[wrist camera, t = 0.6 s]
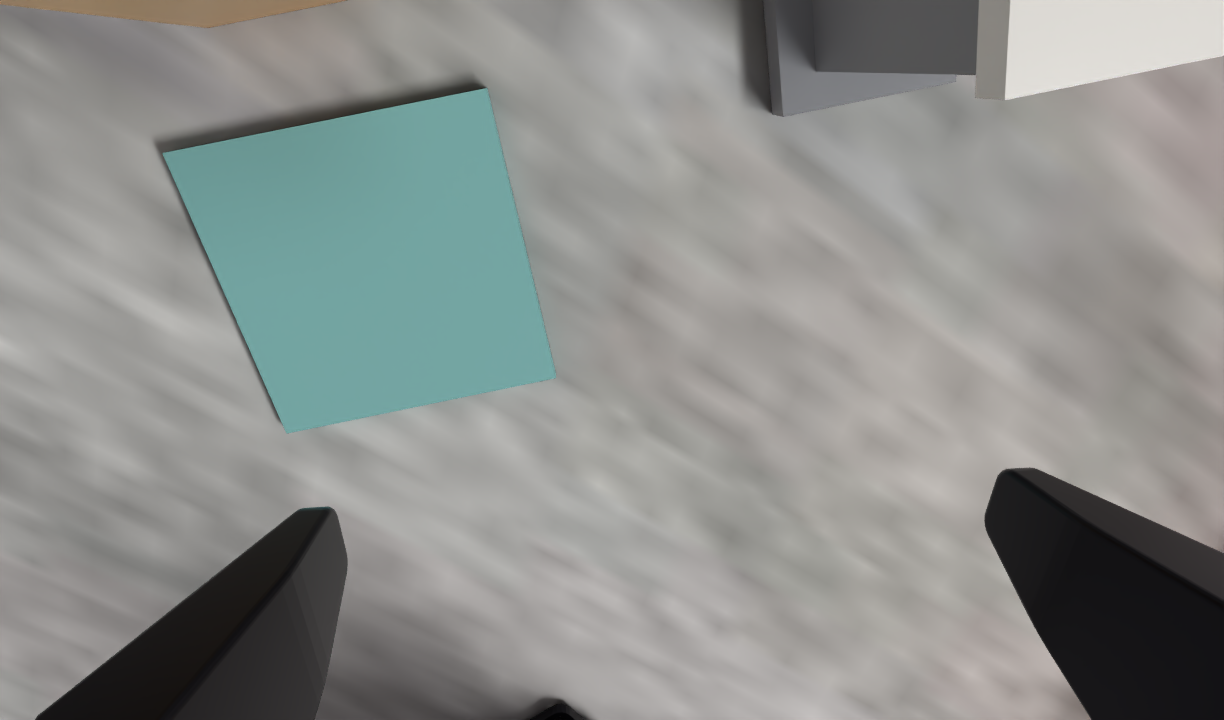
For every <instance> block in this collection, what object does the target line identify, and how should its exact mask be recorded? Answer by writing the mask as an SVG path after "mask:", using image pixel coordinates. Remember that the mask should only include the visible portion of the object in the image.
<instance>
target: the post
mask: <svg viewBox="0 0 1224 720" xmlns="http://www.w3.org/2000/svg"><path fill="white" fill-rule="evenodd" d="M763 3H764V16H765V29H766V42H767V55H768V67H769V80H770V93H771V106H772V114H773V115H777V116H782V117H784V116H789V115H794V114H799V113H804V112H809V111H814V110H819V109H824V108H829V107H834V106H839V105H844V104H849V103H854V102H859V101H864V100H869V99H874V98H878V97H883V96H888V95H893V94H898V93H903V92H908V91H913V90H918V89H923V88H928V87H933V86H938V85H943V84H948V83H953V82H956V75H976V87H975V98H983V99H997V100H1008V99H1013V98H1018V97H1022V96H1027V95H1032V94H1037V93H1042V92H1047V91H1052V90H1057V89H1062V88H1067V87H1072V86H1077V85H1082V84H1087V83H1092V82H1096V81H1101V80H1106V79H1111V78H1116V77H1121V76H1126V75H1131V74H1136V73H1141V72H1146V71H1151V70H1156V69H1161V68H1166V67H1171V66H1175V65H1180V64H1185V63H1190V62H1195V61H1200V60H1205V59H1210V58H1215V57H1220V56H1224V0H763Z"/></svg>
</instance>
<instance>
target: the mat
mask: <svg viewBox="0 0 1224 720" xmlns="http://www.w3.org/2000/svg"><path fill="white" fill-rule="evenodd" d="M162 154H163V156H164V158H165V160H166V163H167V165H168V167H169V169H170V172H171V174H172V176H173V178H174V181H175V183H176V185H177V187H178V190H179V192H180V194H181V196H182V199H183V201H184V203H185V205H186V208H187V210H188V212H189V215H190V217H191V219H192V221H193V224H194V226H195V228H196V230H197V233H198V235H199V237H200V239H201V242H202V244H203V246H204V248H205V251H206V253H207V255H208V257H209V260H210V262H211V264H212V266H213V269H214V271H215V273H216V275H217V278H218V280H219V282H220V284H221V287H222V289H223V291H224V293H225V296H226V298H227V300H228V302H229V305H230V307H231V309H232V311H233V314H234V316H235V318H236V320H237V323H238V325H239V327H240V329H241V332H242V334H243V336H244V338H245V341H246V343H247V345H248V347H249V350H250V352H251V354H252V357H253V359H254V361H255V363H256V366H257V368H258V370H259V372H260V375H261V377H262V379H263V381H264V384H265V386H266V388H267V390H268V393H269V395H270V397H271V399H272V402H273V404H274V406H275V408H276V411H277V413H278V415H279V417H280V420H281V422H282V424H283V426H284V429H285V431H286V433H292V432H296V431H301V430H306V429H311V428H316V427H321V426H326V425H330V424H335V423H340V422H345V421H350V420H355V419H360V418H364V417H369V416H374V415H379V414H384V413H389V412H394V411H398V410H403V409H408V408H413V407H418V406H423V405H428V404H432V403H437V402H442V401H447V400H452V399H457V398H462V397H466V396H471V395H476V394H481V393H486V392H491V391H496V390H500V389H505V388H510V387H515V386H520V385H525V384H529V383H534V382H539V381H544V380H549V379H554V378H556V372H555V368H554V364H553V359H552V355H551V351H550V347H549V343H548V339H547V334H546V330H545V326H544V322H543V318H542V314H541V309H540V305H539V301H538V297H537V293H536V289H535V285H534V280H533V276H532V272H531V268H530V264H529V260H528V255H527V251H526V247H525V243H524V239H523V235H522V231H521V226H520V222H519V218H518V214H517V210H516V206H515V201H514V197H513V193H512V189H511V185H510V181H509V176H508V172H507V168H506V164H505V160H504V156H503V152H502V147H501V143H500V139H499V135H498V131H497V127H496V122H495V118H494V114H493V110H492V106H491V102H490V97H489V93H488V89H487V88H484V89H479V90H474V91H469V92H464V93H459V94H454V95H449V96H444V97H439V98H434V99H429V100H424V101H419V102H414V103H409V104H404V105H399V106H394V107H389V108H384V109H379V110H374V111H369V112H364V113H359V114H354V115H349V116H344V117H339V118H334V119H329V120H324V121H319V122H314V123H309V124H304V125H299V126H294V127H289V128H284V129H279V130H274V131H269V132H264V133H260V134H255V135H250V136H245V137H240V138H235V139H230V140H225V141H220V142H215V143H210V144H205V145H200V146H195V147H190V148H185V149H180V150H175V151H170V152H165V153H162Z"/></svg>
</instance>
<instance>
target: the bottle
mask: <svg viewBox="0 0 1224 720" xmlns="http://www.w3.org/2000/svg"><path fill="white" fill-rule="evenodd" d="M342 1H347V0H0V4H1V5H10V6H19V7H28V8H36V9H45V10H54V11H63V12H72V13H80V14H89V15H98V16H107V17H115V18H124V19H133V20H142V21H151V22H159V23H168V24H177V25H186V26H194V27H203V28H210V27H215V26H221V25H226V24H231V23H236V22H241V21H246V20H251V19H256V18H261V17H266V16H271V15H276V14H281V13H286V12H291V11H296V10H301V9H306V8H311V7H316V6H321V5H326V4H332V3H337V2H342Z"/></svg>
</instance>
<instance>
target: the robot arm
mask: <svg viewBox="0 0 1224 720" xmlns="http://www.w3.org/2000/svg"><path fill="white" fill-rule="evenodd" d="M985 527H986V531H987V534H988V536H989V538H990V540H991V542H992V544H993V546H994V548H995V550H996V552H997V554H998V556H999V558H1000V560H1001V562H1002V564H1003V566H1004V568H1005V570H1006V572H1007V574H1008V576H1009V578H1010V580H1011V582H1012V584H1013V586H1014V588H1015V590H1016V592H1017V594H1018V596H1019V598H1020V600H1021V602H1022V604H1023V606H1024V608H1025V610H1026V612H1027V614H1028V616H1029V618H1030V620H1031V621H1032V623H1033V625H1034V627H1035V629H1036V631H1037V633H1038V634H1039V636H1040V638H1041V639H1042V641H1043V643H1044V644H1045V646H1046V648H1047V649H1048V651H1049V653H1050V654H1051V656H1052V657H1053V659H1054V661H1055V662H1056V664H1057V665H1058V667H1059V669H1060V670H1061V672H1062V673H1063V675H1064V677H1065V678H1066V680H1067V681H1068V683H1069V685H1070V686H1071V688H1072V689H1073V691H1074V693H1075V694H1076V696H1077V697H1078V699H1079V701H1080V702H1081V704H1082V705H1083V707H1084V708H1085V710H1086V712H1087V713H1088V715H1089V716H1090V718H1091V720H1224V553H1222V552H1220V551H1218V550H1215V549H1213V548H1211V547H1209V546H1207V545H1204V544H1202V543H1200V542H1198V541H1195V540H1193V539H1191V538H1189V537H1187V536H1184V535H1182V534H1180V533H1178V532H1176V531H1173V530H1171V529H1169V528H1167V527H1164V526H1162V525H1160V524H1158V523H1156V522H1153V521H1151V520H1149V519H1147V518H1144V517H1142V516H1140V515H1138V514H1136V513H1133V512H1131V511H1129V510H1127V509H1124V508H1122V507H1120V506H1118V505H1116V504H1113V503H1111V502H1109V501H1107V500H1105V499H1102V498H1100V497H1098V496H1096V495H1093V494H1091V493H1089V492H1087V491H1085V490H1082V489H1080V488H1078V487H1076V486H1073V485H1071V484H1069V483H1067V482H1065V481H1062V480H1060V479H1058V478H1056V477H1054V476H1051V475H1049V474H1047V473H1045V472H1042V471H1040V470H1038V469H1035V468H1013V469H1006V470H1003V471H1002V472H1001V473H1000V474H999V475H998V477H997V479H996V482H995V485H994V488H993V491H992V494H991V497H990V500H989V503H988V506H987V509H986V512H985ZM347 566H348V560H347V552H346V548H345V544H344V540H343V536H342V532H341V528H340V524H339V520H338V516H337V514H336V512H335V510H334V509H332V508H331V507H313V508H302V509H299V510H298V511H296V512H294V513H293V514H292V515H291V516H289V517H288V518H287V519H286V520H284V521H283V522H282V523H281V524H279V525H278V526H277V527H276V528H274V529H273V530H272V531H270V532H269V533H268V534H267V535H265V536H264V537H263V538H262V539H260V540H259V541H258V542H257V543H255V544H254V545H253V546H252V547H250V548H249V549H248V550H246V551H245V552H244V553H243V554H241V555H240V556H239V557H238V558H236V559H235V560H234V561H233V562H231V563H230V564H229V565H228V566H226V567H225V568H224V569H222V570H221V571H220V572H219V573H217V574H216V575H215V576H214V577H212V578H211V579H210V580H209V581H207V582H206V583H205V584H204V585H202V586H201V587H200V588H198V589H197V590H196V591H195V592H193V593H192V594H191V595H190V596H188V597H187V598H186V599H185V600H183V601H182V602H181V603H180V604H178V605H177V606H176V607H174V608H173V609H172V610H171V611H169V612H168V613H167V614H166V615H164V616H163V617H162V618H161V619H159V620H158V621H157V622H156V623H154V624H153V625H152V626H150V627H149V628H148V629H147V630H145V631H144V632H143V633H142V634H140V635H139V636H138V637H137V638H135V639H134V640H133V641H131V642H130V643H129V644H128V645H126V646H125V647H124V648H123V649H121V650H120V651H119V652H118V653H116V654H115V655H114V656H113V657H111V658H110V659H109V660H107V661H106V662H105V663H104V664H102V665H101V666H100V667H99V668H97V669H96V670H95V671H94V672H92V673H91V674H90V675H89V676H87V677H86V678H85V679H83V680H82V681H81V682H80V683H78V684H77V685H76V686H75V687H73V688H72V689H71V690H70V691H68V692H67V693H66V694H65V695H63V696H62V697H61V698H59V699H58V700H57V701H56V702H54V703H53V704H52V705H51V706H49V707H48V708H47V709H46V710H44V711H43V712H42V713H40V714H39V715H38V716H37V717H36V719H35V720H314V719H315V716H316V712H317V709H318V706H319V703H320V699H321V696H322V692H323V689H324V685H325V681H326V676H327V672H328V667H329V662H330V657H331V652H332V647H333V642H334V636H335V631H336V626H337V621H338V616H339V611H340V606H341V600H342V595H343V590H344V585H345V580H346V575H347ZM559 716H560V717H559ZM530 720H584V719H583V718H581V717H580V716H579V715H578V714H577V713H576V712H575V711H574V710H572V709H571V708H570V707H569V706H567V705H564V704H557V705H554V706H552V707H551V708H549V709H547V710H546V711H544V712H542V713H541V714H539V715H537V716H536V717H534V718H532V719H530Z"/></svg>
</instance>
